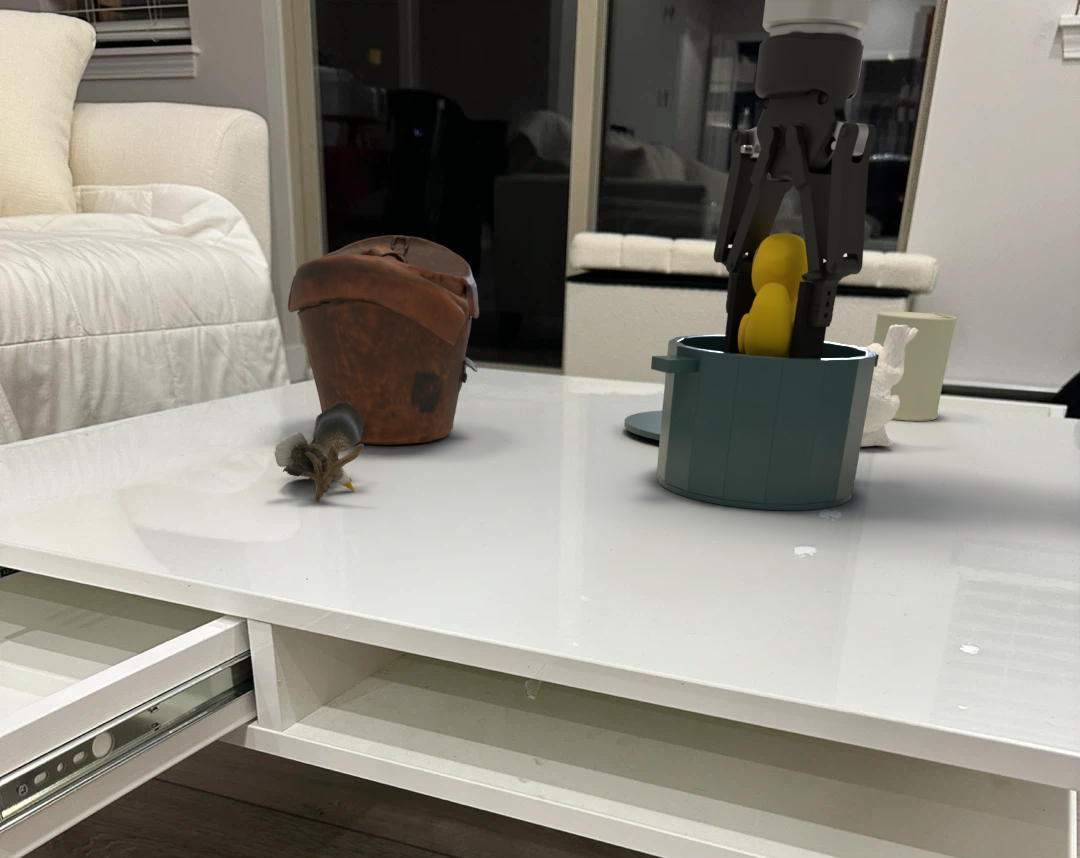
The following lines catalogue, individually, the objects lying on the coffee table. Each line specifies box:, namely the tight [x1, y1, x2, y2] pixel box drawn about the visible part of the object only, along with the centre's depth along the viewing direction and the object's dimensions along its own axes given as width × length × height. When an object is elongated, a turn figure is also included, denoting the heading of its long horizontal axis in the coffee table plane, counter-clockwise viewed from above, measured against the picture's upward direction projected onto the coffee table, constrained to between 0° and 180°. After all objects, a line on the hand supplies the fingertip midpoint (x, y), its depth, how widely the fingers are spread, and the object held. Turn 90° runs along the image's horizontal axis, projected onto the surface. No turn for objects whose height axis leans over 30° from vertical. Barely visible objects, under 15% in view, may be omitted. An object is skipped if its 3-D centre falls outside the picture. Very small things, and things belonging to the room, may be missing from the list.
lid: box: [623, 410, 662, 442], centre depth 110 cm, size 18×18×4 cm
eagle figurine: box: [274, 401, 365, 503], centre depth 82 cm, size 8×7×9 cm
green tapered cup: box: [872, 310, 958, 422], centre depth 127 cm, size 9×9×12 cm
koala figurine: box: [850, 325, 919, 448], centre depth 108 cm, size 8×7×12 cm
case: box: [287, 234, 480, 446], centre depth 101 cm, size 18×20×18 cm
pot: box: [650, 334, 879, 511], centre depth 89 cm, size 17×22×12 cm
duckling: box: [738, 232, 808, 358], centre depth 85 cm, size 11×5×10 cm, turn 164°
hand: (769, 362), depth 87 cm, fingers closed on duckling, 8 cm apart
